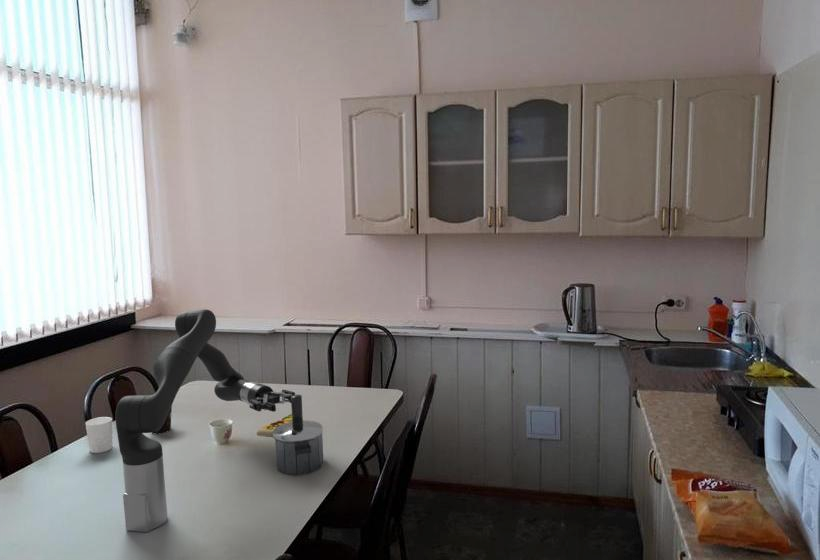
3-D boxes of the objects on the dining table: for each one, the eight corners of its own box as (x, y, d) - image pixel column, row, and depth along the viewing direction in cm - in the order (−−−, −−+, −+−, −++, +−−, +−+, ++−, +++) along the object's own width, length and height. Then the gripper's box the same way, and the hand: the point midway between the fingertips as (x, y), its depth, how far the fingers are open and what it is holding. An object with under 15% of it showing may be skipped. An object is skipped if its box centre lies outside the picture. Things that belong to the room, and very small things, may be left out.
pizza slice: (254, 437, 206) (254, 429, 206) (275, 417, 227) (275, 409, 226) (297, 438, 204) (296, 430, 204) (314, 417, 225) (313, 410, 224)
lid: (316, 443, 173) (314, 404, 171) (266, 443, 174) (264, 404, 172) (327, 425, 187) (326, 388, 186) (281, 424, 189) (279, 388, 187)
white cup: (83, 451, 196) (80, 422, 195) (104, 443, 203) (102, 415, 202) (97, 455, 193) (95, 426, 191) (119, 447, 200) (117, 418, 198)
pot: (328, 474, 175) (327, 442, 173) (280, 482, 170) (279, 449, 169) (317, 449, 193) (315, 420, 192) (273, 455, 189) (272, 426, 188)
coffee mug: (164, 435, 209) (162, 408, 208) (143, 434, 211) (141, 407, 209) (183, 423, 220) (181, 398, 219) (162, 422, 222) (160, 397, 221)
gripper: (236, 389, 188) (266, 399, 178) (273, 378, 199) (303, 387, 188) (238, 411, 189) (267, 422, 179) (275, 400, 200) (305, 410, 189)
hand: (286, 404), depth 183 cm, fingers open, 8 cm apart
